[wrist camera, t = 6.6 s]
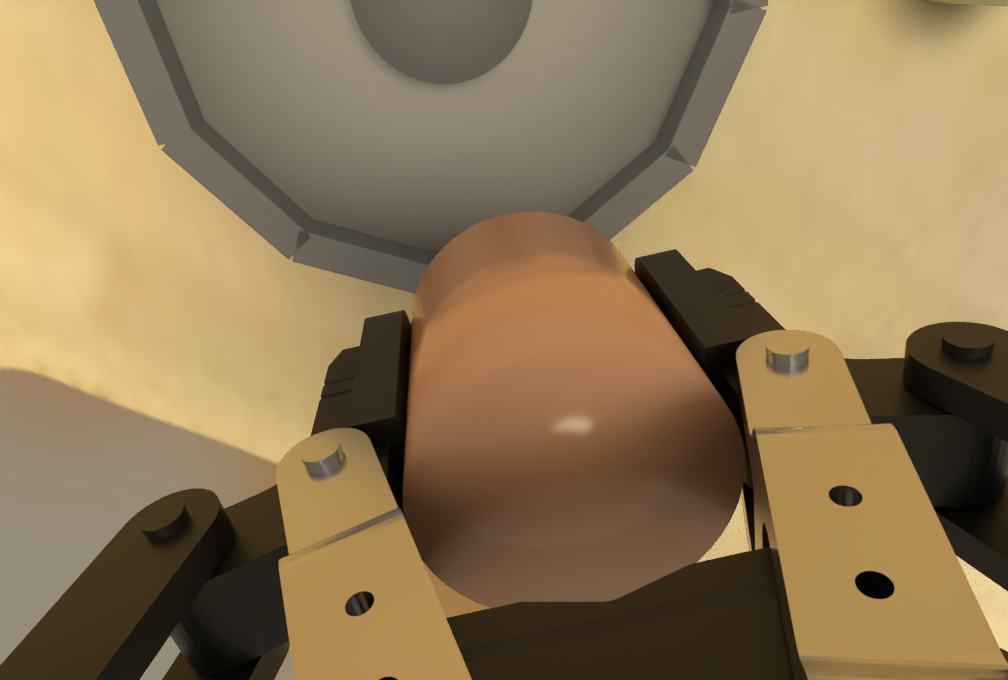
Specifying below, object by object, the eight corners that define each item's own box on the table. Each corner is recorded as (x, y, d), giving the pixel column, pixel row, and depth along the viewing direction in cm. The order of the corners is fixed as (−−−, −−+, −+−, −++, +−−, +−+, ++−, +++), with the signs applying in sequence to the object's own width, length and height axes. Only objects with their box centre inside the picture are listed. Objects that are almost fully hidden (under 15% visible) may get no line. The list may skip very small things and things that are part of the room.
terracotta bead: (680, 331, 13) (802, 503, 9) (507, 452, 14) (542, 659, 10) (550, 160, 12) (624, 271, 7) (361, 312, 13) (326, 490, 8)
